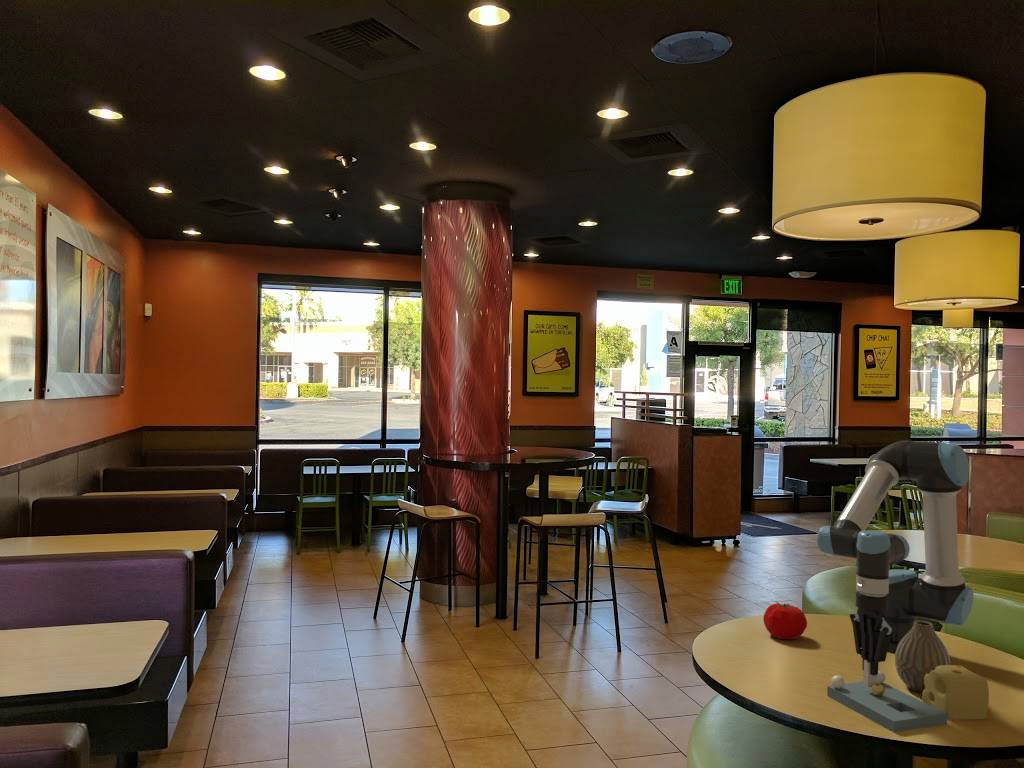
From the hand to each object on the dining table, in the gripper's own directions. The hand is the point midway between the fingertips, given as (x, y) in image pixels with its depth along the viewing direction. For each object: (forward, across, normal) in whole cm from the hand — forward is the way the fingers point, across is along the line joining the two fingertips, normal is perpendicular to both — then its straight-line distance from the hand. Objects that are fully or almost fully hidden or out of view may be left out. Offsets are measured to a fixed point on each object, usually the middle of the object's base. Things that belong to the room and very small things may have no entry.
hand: (869, 685), depth 200 cm
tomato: (+4, -49, +12) cm, 51 cm away
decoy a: (0, -4, +7) cm, 8 cm away
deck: (+4, +5, 0) cm, 6 cm away
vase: (+4, -3, +20) cm, 21 cm away
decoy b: (0, -4, -6) cm, 8 cm away
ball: (0, +3, 0) cm, 3 cm away
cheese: (+4, +11, +16) cm, 20 cm away
